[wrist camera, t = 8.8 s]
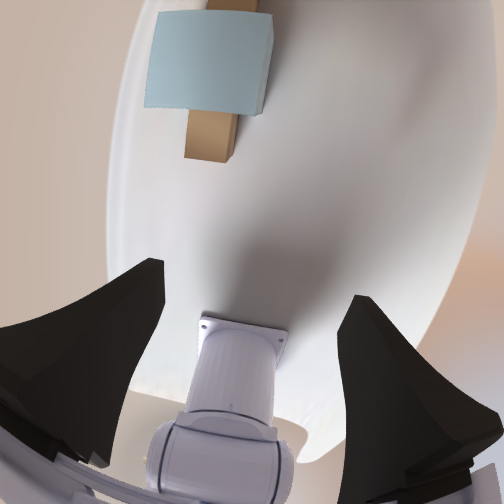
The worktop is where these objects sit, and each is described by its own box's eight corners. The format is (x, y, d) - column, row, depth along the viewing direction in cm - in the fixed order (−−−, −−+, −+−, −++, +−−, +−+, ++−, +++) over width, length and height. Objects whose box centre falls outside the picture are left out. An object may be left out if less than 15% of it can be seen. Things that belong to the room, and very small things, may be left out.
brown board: (232, 154, 17) (224, 164, 15) (196, 150, 17) (181, 159, 15) (261, -13, 11) (258, -31, 9) (223, -15, 11) (214, -33, 9)
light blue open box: (261, 113, 16) (254, 116, 11) (181, 104, 16) (143, 107, 11) (274, 40, 13) (272, 14, 8) (192, 34, 13) (158, 12, 8)
